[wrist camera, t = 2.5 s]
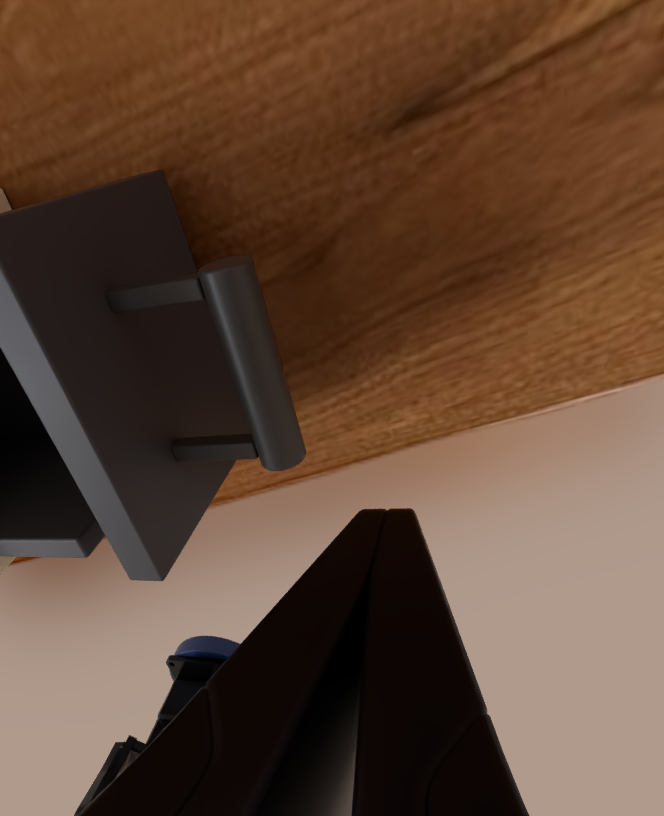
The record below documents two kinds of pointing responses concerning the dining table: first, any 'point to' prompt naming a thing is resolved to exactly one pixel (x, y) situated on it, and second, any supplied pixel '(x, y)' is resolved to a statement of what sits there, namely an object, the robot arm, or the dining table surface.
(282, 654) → the robot arm
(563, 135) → the dining table surface
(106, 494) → the drawer
